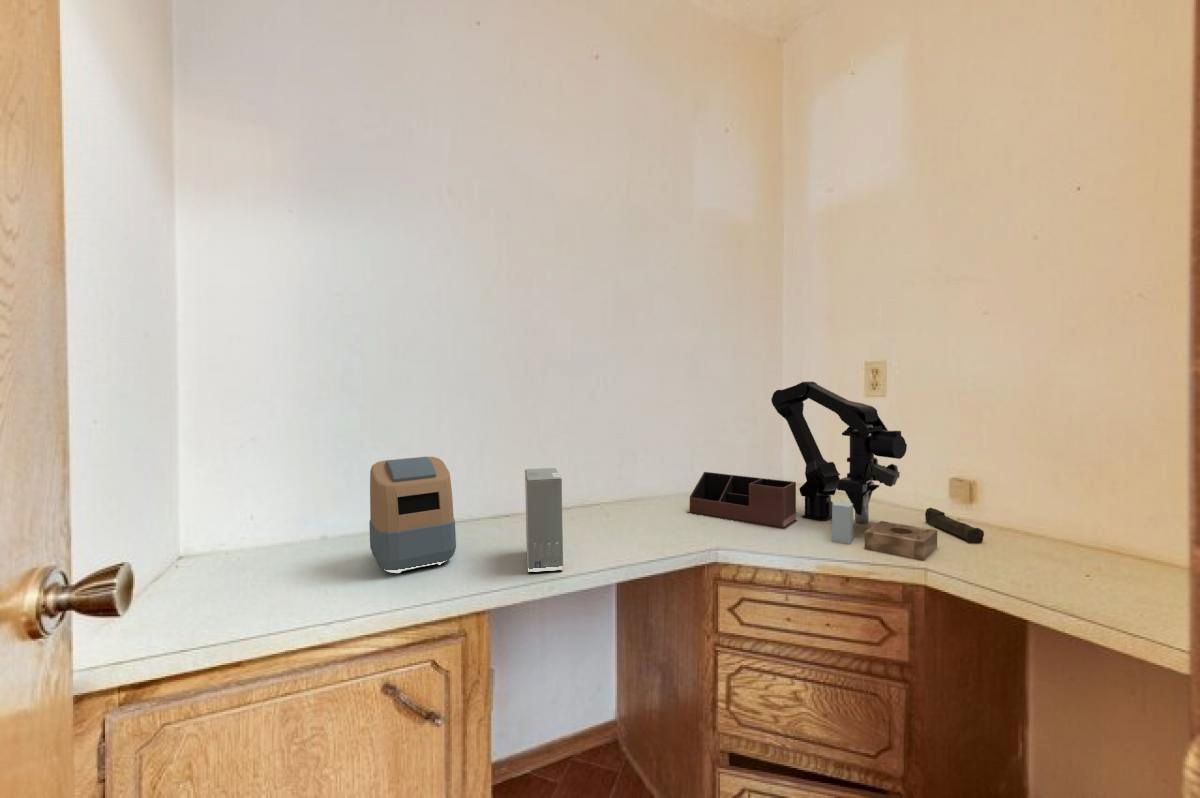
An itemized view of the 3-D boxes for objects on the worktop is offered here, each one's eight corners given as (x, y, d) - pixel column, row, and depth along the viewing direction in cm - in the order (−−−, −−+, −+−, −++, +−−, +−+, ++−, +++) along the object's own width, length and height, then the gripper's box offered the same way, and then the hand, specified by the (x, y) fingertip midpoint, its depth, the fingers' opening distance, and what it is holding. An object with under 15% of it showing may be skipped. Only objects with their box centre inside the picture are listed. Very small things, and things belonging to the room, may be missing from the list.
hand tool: (985, 544, 125) (985, 525, 125) (967, 545, 125) (968, 525, 125) (936, 523, 144) (936, 506, 144) (921, 523, 144) (921, 506, 144)
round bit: (853, 523, 138) (853, 489, 138) (857, 520, 140) (857, 487, 140) (866, 525, 136) (866, 490, 136) (870, 522, 138) (870, 488, 138)
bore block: (864, 548, 123) (864, 531, 123) (881, 536, 131) (881, 520, 131) (923, 560, 114) (923, 542, 114) (937, 547, 123) (937, 530, 123)
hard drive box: (564, 572, 112) (562, 478, 111) (527, 575, 110) (525, 480, 110) (557, 548, 127) (556, 466, 126) (525, 551, 126) (523, 468, 125)
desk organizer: (785, 530, 139) (785, 488, 139) (687, 514, 157) (686, 476, 157) (798, 521, 147) (798, 481, 147) (703, 507, 166) (703, 471, 165)
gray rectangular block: (832, 541, 129) (832, 504, 128) (835, 537, 132) (835, 501, 132) (850, 544, 126) (850, 506, 126) (853, 539, 130) (853, 503, 129)
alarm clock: (381, 581, 108) (376, 469, 107) (368, 558, 123) (364, 459, 122) (461, 564, 117) (458, 461, 116) (440, 545, 131) (437, 452, 130)
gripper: (884, 461, 125) (883, 526, 126) (906, 452, 138) (906, 511, 139) (835, 457, 133) (835, 518, 134) (861, 449, 146) (861, 504, 147)
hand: (861, 513), depth 138 cm, fingers closed on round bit, 3 cm apart
